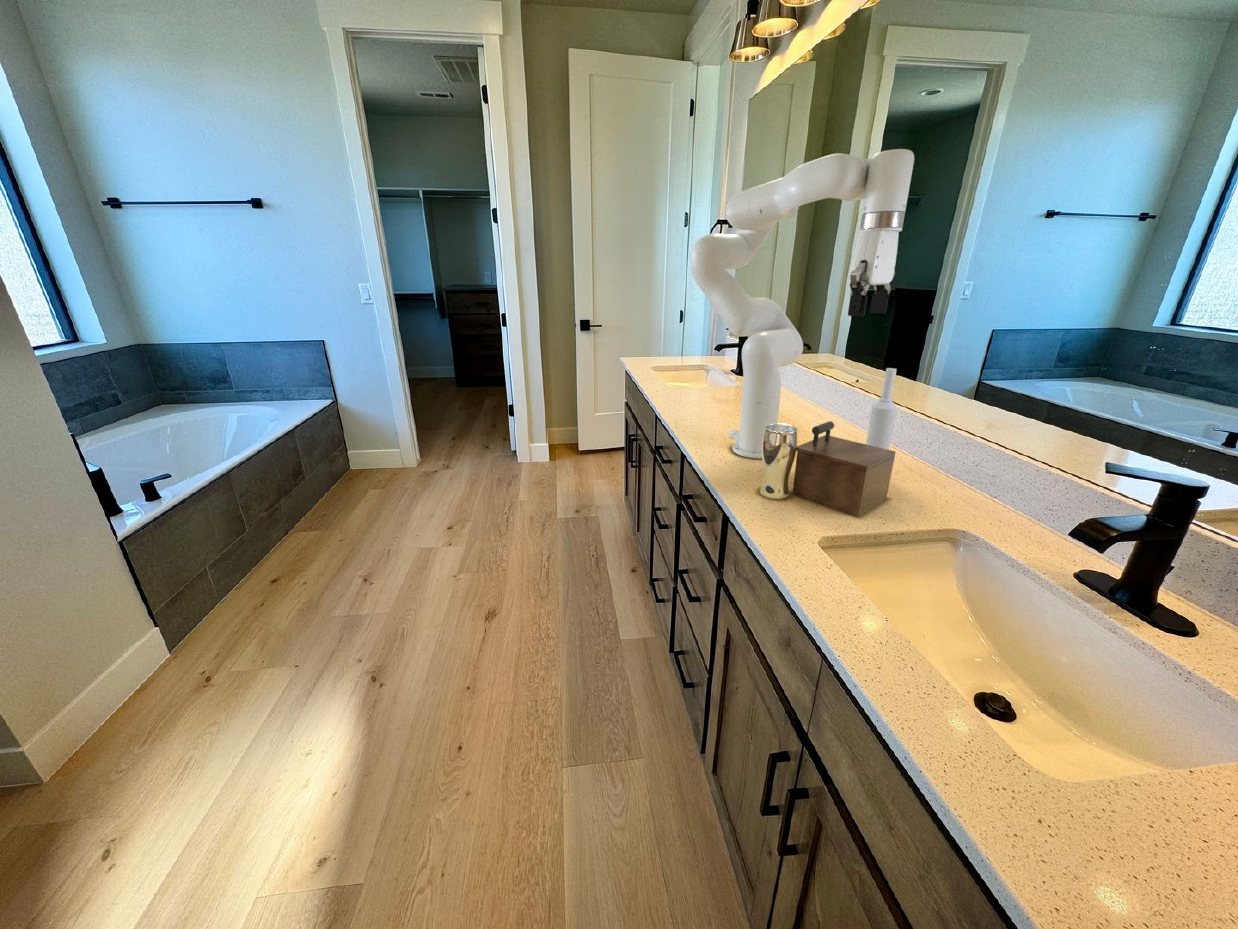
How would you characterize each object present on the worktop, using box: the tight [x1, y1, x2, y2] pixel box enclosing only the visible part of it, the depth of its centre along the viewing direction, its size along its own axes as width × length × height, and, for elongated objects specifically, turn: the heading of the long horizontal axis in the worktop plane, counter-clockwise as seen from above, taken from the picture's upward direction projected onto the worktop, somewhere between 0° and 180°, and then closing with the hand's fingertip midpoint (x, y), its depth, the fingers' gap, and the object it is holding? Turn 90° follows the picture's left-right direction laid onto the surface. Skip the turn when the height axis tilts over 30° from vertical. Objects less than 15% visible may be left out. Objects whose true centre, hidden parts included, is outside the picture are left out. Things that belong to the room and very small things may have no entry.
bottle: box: [865, 367, 898, 450], centre depth 113 cm, size 5×5×25 cm
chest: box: [791, 451, 896, 517], centre depth 104 cm, size 15×13×10 cm
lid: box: [796, 420, 897, 470], centre depth 102 cm, size 15×13×5 cm
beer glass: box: [759, 423, 799, 500], centre depth 105 cm, size 7×7×15 cm
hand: (867, 314), depth 103 cm, fingers open, 9 cm apart
